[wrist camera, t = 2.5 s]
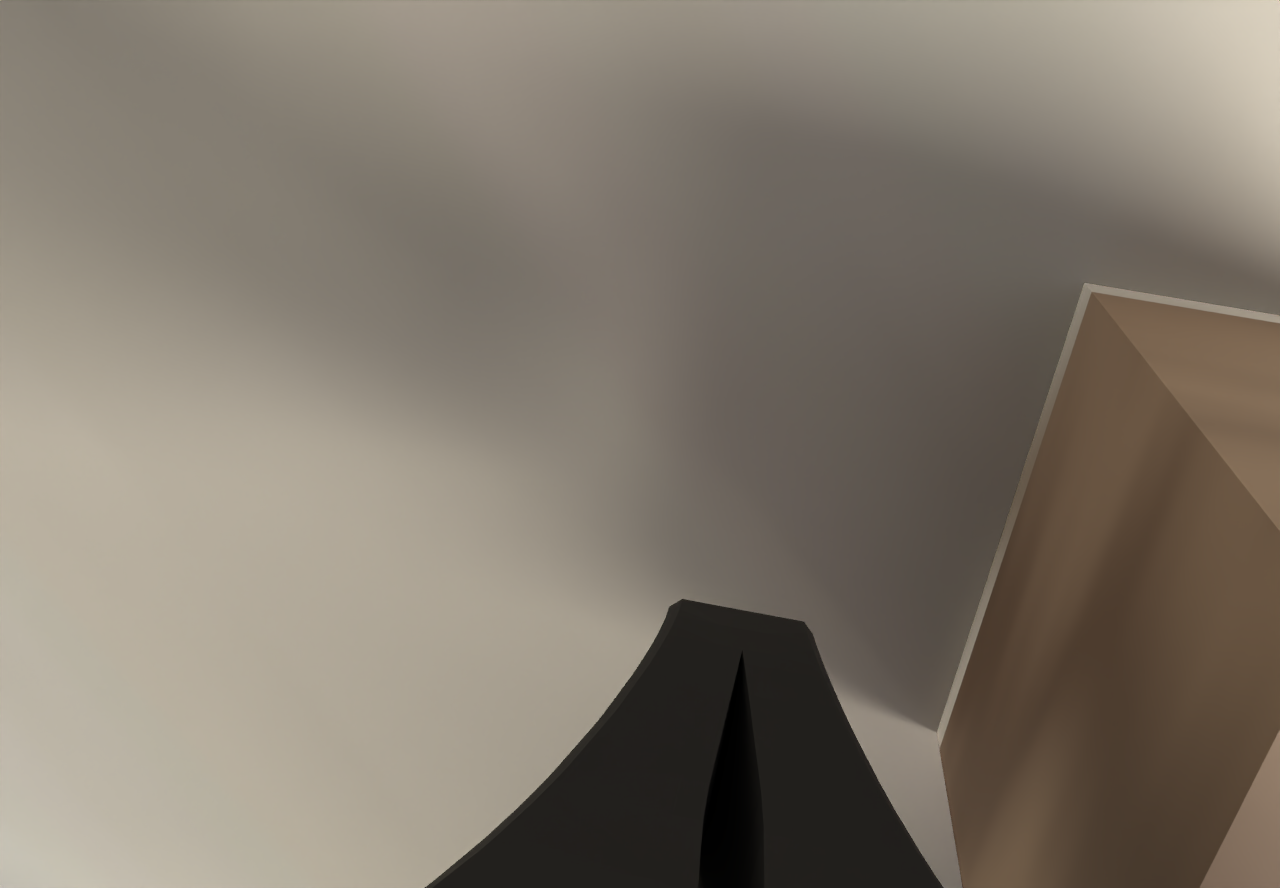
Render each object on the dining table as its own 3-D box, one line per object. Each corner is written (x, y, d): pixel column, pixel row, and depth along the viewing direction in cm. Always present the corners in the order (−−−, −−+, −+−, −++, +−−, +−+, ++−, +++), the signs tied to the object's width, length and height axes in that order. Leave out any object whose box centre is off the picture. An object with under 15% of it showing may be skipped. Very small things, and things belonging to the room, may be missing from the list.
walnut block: (1209, 783, 16) (1471, 1337, 10) (936, 730, 16) (1021, 1238, 10) (1424, 338, 13) (2011, 731, 7) (1083, 281, 13) (1339, 609, 7)
